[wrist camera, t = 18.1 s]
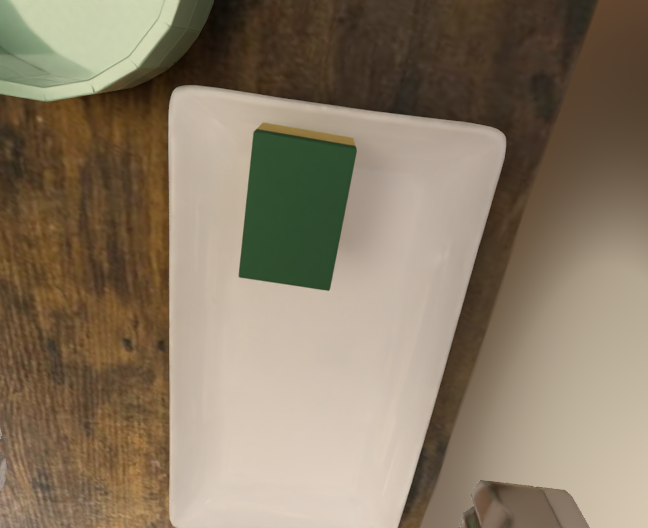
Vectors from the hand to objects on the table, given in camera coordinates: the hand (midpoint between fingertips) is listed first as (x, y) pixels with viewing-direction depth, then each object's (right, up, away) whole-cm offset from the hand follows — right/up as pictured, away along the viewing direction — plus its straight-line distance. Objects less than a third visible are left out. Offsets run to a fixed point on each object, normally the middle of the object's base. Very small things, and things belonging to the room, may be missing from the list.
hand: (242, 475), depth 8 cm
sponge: (0, +7, +16) cm, 18 cm away
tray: (0, -2, +24) cm, 24 cm away
